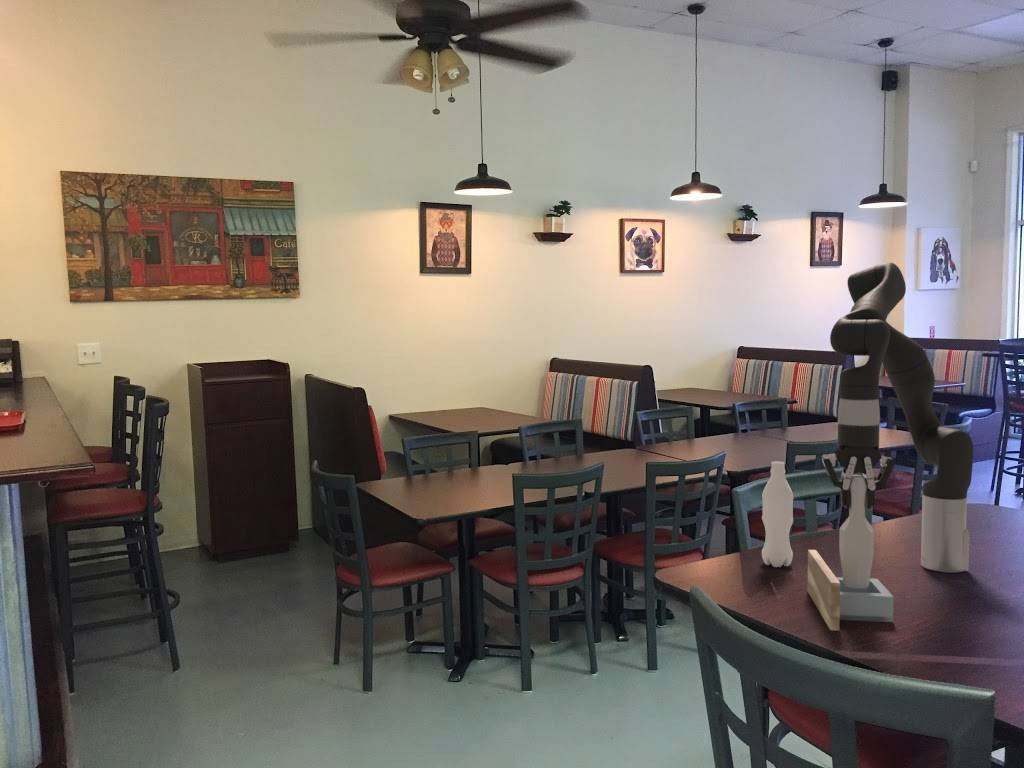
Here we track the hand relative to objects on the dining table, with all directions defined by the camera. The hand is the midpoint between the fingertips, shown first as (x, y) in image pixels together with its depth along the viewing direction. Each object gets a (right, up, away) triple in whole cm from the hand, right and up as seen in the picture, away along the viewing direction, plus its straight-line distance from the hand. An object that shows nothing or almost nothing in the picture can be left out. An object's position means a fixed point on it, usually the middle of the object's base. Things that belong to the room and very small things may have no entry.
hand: (857, 507), depth 160 cm
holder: (0, -21, +1) cm, 21 cm away
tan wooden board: (+4, -22, +1) cm, 22 cm away
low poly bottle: (0, -16, +1) cm, 16 cm away
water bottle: (-4, -19, +36) cm, 41 cm away
